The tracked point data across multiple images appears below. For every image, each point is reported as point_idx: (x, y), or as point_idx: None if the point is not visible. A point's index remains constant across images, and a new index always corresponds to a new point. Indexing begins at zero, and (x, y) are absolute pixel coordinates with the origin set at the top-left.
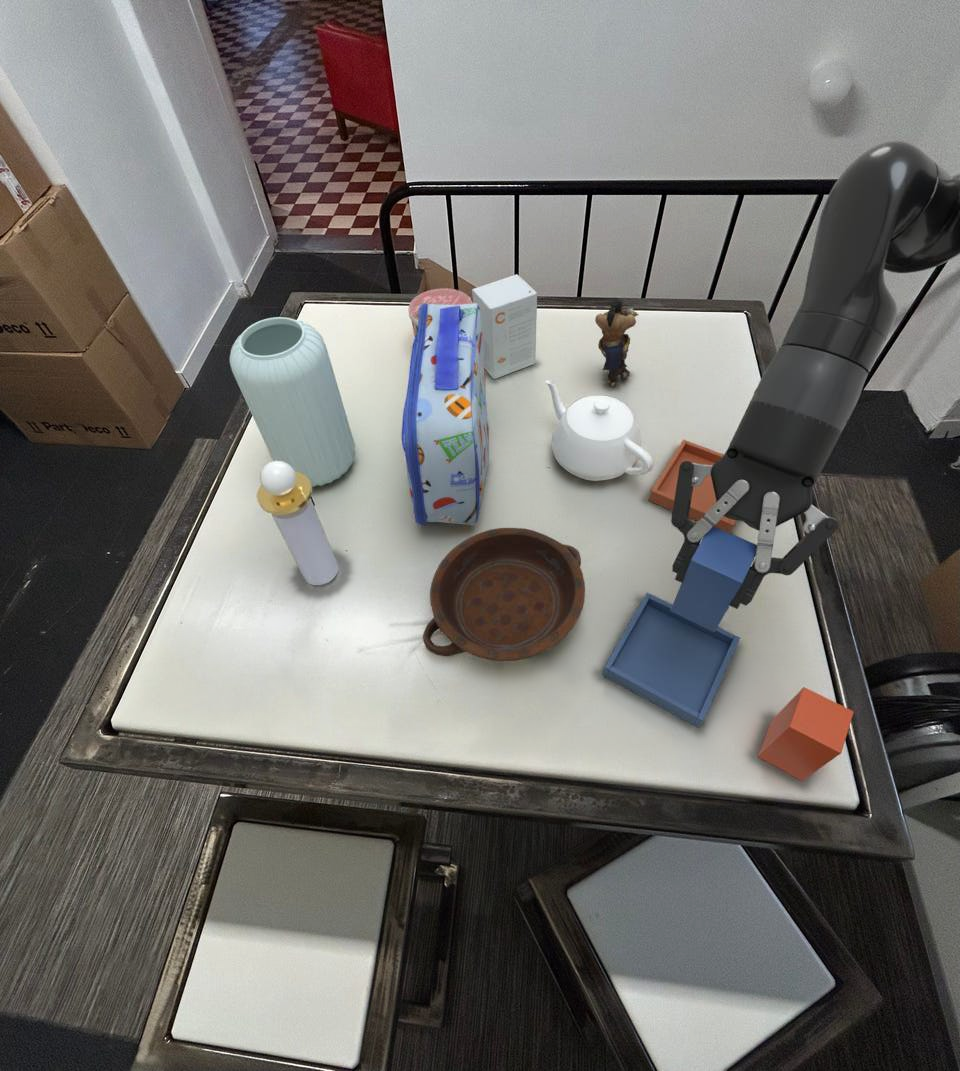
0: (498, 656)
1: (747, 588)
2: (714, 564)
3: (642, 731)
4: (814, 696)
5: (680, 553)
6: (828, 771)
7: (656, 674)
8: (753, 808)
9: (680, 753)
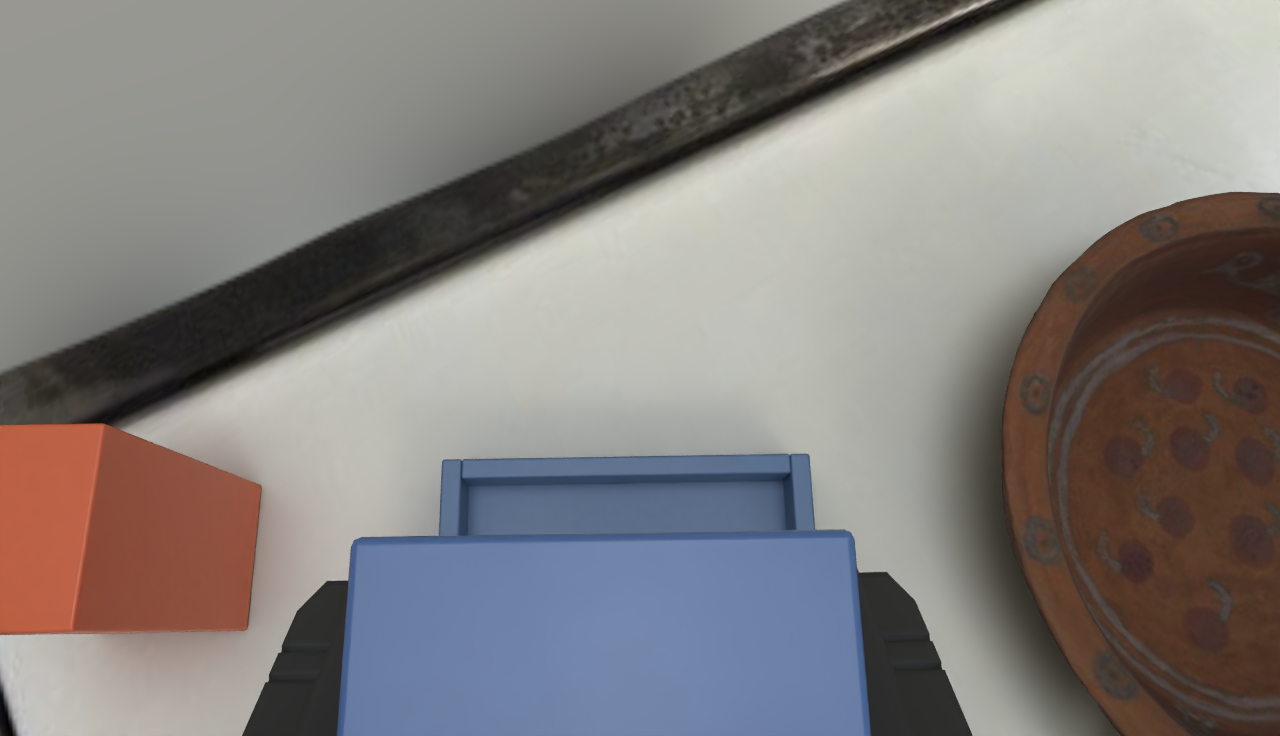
0: (1137, 228)
1: (331, 648)
2: (648, 596)
3: (600, 367)
4: (23, 610)
5: (937, 686)
6: None
7: None
8: (239, 337)
9: (474, 368)
